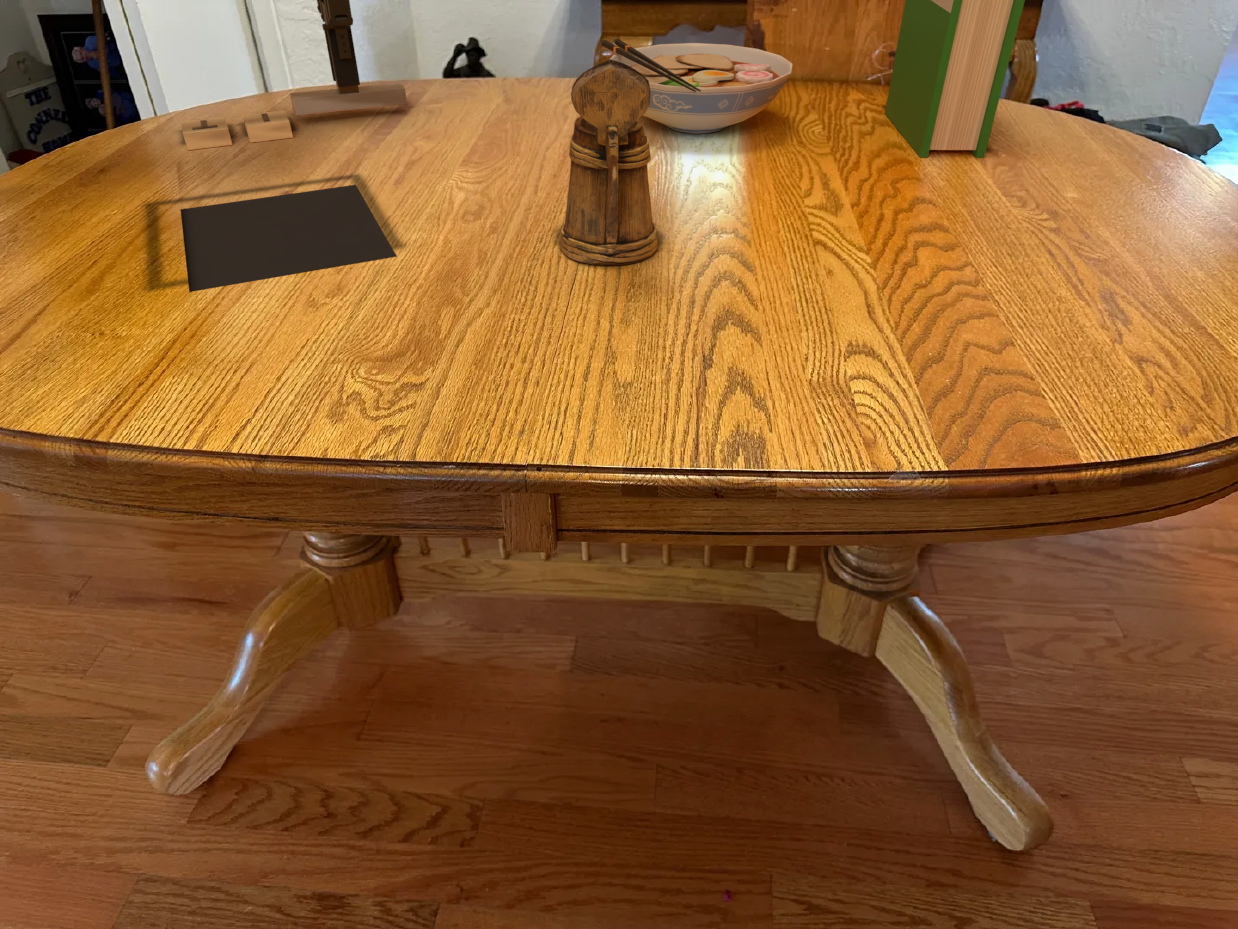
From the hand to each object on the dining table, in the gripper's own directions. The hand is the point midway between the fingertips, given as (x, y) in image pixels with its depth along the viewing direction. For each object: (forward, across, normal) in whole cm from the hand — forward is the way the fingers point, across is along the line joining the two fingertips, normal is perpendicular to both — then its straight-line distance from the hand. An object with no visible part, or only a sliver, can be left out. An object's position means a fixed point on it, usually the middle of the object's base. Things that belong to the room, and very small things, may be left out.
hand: (346, 81), depth 108 cm
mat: (+5, -35, +14) cm, 38 cm away
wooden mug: (+4, -53, -13) cm, 55 cm away
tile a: (+5, -3, +18) cm, 19 cm away
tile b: (+5, -3, +11) cm, 12 cm away
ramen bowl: (+4, -21, -39) cm, 45 cm away
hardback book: (+4, -36, -64) cm, 74 cm away
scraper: (+3, 0, 0) cm, 3 cm away
